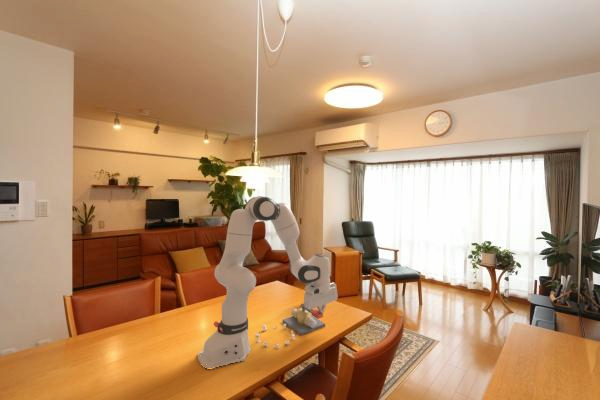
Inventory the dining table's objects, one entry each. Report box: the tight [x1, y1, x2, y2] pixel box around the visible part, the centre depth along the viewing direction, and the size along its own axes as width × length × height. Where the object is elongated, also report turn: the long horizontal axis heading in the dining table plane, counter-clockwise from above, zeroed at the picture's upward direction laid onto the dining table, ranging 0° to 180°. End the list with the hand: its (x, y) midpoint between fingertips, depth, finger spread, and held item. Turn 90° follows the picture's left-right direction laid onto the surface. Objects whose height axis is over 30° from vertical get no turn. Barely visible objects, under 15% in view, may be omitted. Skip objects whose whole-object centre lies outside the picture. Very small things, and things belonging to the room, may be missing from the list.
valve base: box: [282, 307, 326, 336], centre depth 148 cm, size 16×17×9 cm
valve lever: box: [300, 303, 324, 320], centre depth 142 cm, size 15×3×2 cm, turn 36°
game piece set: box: [255, 323, 296, 349], centre depth 135 cm, size 19×20×4 cm
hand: (321, 312), depth 140 cm, fingers closed
